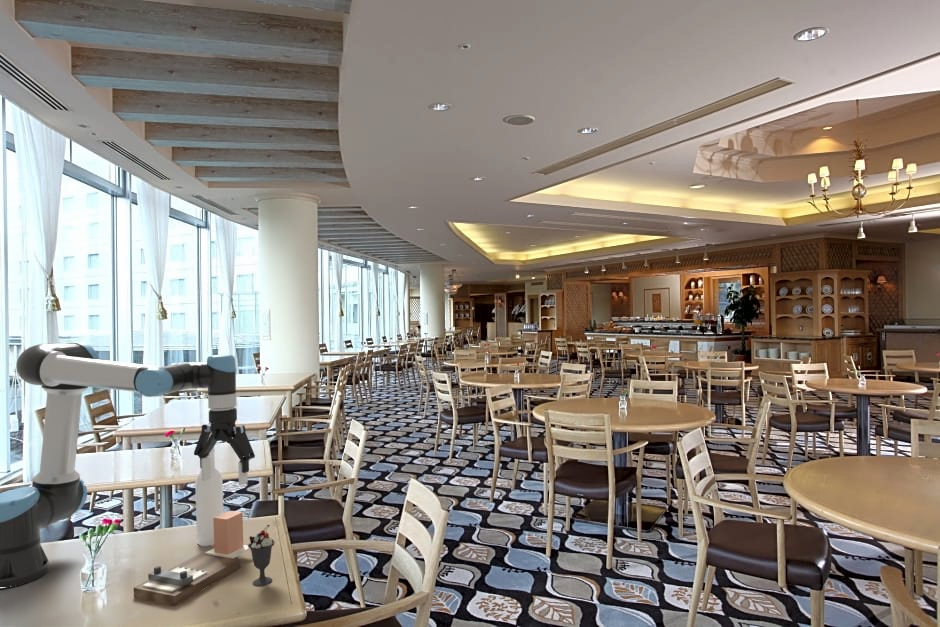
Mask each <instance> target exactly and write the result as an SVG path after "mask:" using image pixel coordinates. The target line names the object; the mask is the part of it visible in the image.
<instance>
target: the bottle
mask: <svg viewBox="0 0 940 627" xmlns="http://www.w3.org/2000/svg"><path fill="white" fill-rule="evenodd" d="M215 450H216V449H215V446H214V447H213V449H212V450H211V452H210V453H209V456H210V457H211V479H208V480H206V481H202V469H201V470H200V471H199V472H198V474H196V478H195V481H194V483H195V484H194V486H195V488H194V489H195V510H196V511H195V512H196V513H195V515H196V518H195V519H196V541H197V542H196V543H198V544H199V545H201V546H200V547H210V546H209V545H213V546H214V524H213V518H214V517H216V516H218V515H220V514H223V513H224V490H223V489H224V486H223V476H222V474H221V472H220V470H219V469H217V468H216V463H215V460H216V459H215V452H216V451H215ZM207 457H208V456H207ZM198 544H197V545H198ZM199 545H198V546H199Z"/></svg>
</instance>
